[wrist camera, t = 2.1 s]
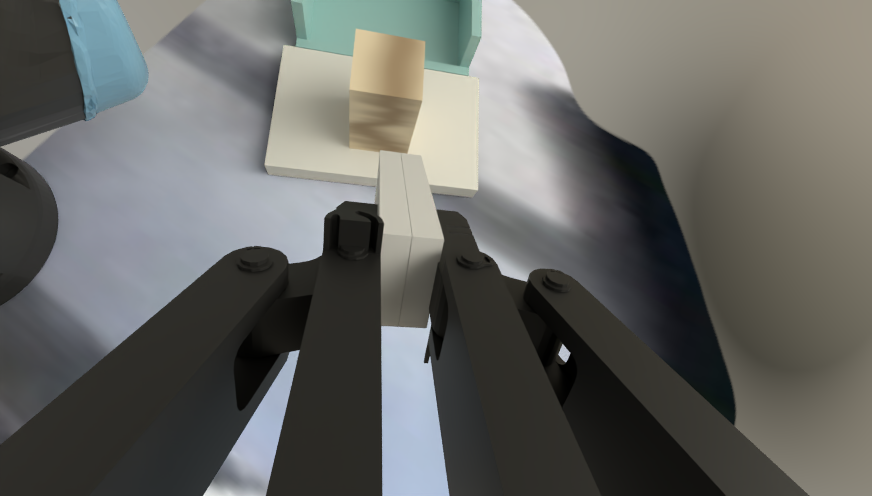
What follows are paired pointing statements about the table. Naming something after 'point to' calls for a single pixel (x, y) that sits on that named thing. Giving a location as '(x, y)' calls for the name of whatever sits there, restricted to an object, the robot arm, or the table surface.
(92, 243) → the table surface
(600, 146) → the table surface
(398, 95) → the maple block
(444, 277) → the robot arm
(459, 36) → the box
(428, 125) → the cream board
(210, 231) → the table surface
